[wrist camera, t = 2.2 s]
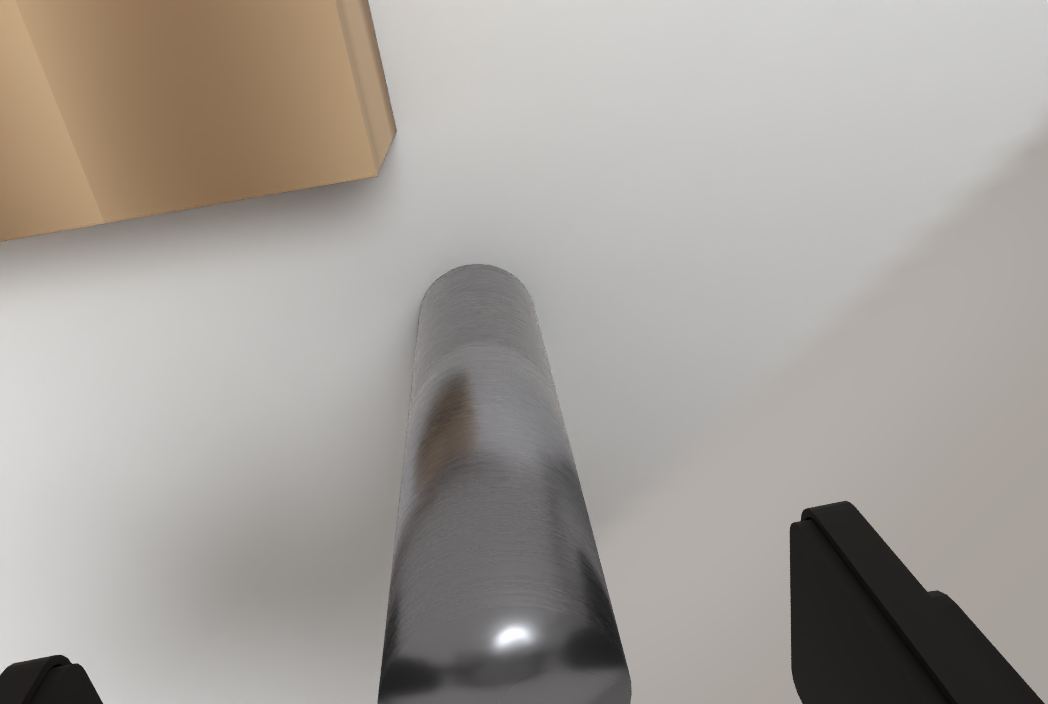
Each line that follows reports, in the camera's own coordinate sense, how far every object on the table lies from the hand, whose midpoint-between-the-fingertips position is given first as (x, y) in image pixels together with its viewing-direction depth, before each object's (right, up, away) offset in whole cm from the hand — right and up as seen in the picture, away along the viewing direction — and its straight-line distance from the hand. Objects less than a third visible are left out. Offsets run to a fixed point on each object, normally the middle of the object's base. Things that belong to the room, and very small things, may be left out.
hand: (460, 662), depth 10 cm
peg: (0, +5, +10) cm, 11 cm away
